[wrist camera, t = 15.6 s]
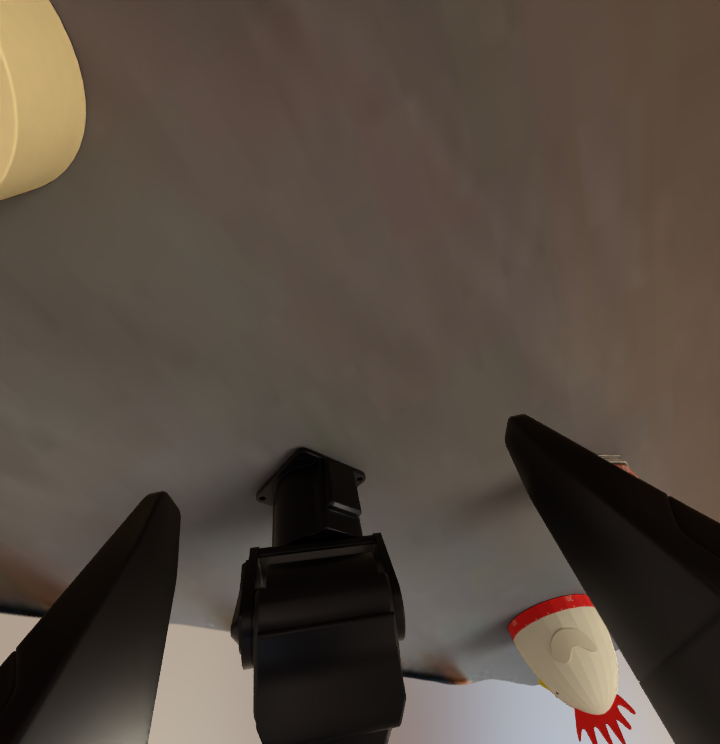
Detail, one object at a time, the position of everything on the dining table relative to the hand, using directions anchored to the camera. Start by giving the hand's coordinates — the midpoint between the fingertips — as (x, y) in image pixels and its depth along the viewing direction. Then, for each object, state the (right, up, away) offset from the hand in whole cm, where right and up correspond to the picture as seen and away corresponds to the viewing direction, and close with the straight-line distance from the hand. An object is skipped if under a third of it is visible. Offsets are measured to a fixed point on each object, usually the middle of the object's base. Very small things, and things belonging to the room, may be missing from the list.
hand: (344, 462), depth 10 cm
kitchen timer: (+31, -36, +49) cm, 68 cm away
